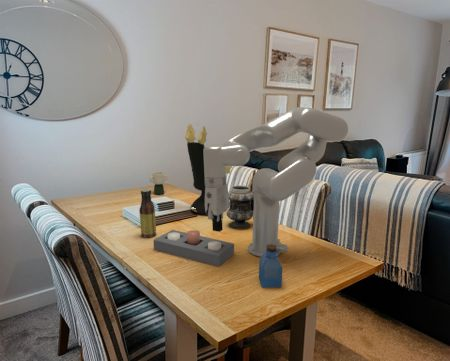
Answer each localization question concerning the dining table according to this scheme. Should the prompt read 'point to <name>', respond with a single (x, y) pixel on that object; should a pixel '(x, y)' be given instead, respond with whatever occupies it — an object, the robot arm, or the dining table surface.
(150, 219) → the sauce bottle
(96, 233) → the dining table surface
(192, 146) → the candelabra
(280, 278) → the perfume bottle
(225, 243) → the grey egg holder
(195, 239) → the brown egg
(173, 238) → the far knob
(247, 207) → the apothecary jar
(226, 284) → the dining table surface
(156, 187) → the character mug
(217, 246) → the near knob
